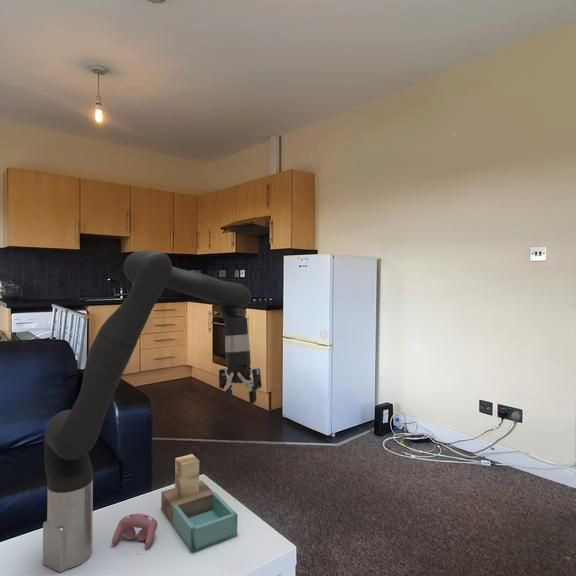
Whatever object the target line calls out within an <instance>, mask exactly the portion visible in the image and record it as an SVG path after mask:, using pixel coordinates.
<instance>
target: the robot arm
mask: <svg viewBox="0 0 576 576" xmlns="http://www.w3.org/2000/svg"><path fill="white" fill-rule="evenodd" d="M123 273H124V275H125V277H126V278H127V280H128V281H130V282H131V283H132V285H131V288H130V290H129V292H128V293H127V296H126V298H125V299H124V301H123V302H122V304H120V306H118V307H117V309H116V310H114V311H113V313H112V314H110V316H109V317H108V318H107V319H106V320H105V322H104V323H103V324H102V325H101V326H100V328H99V330H98V332H97V334H96V336H95V337H94V340H93V342H92V344H91V346H90V348H89V349H88V353H87V357H86V360H85V365H84V371H83V377H82V381H81V387H80V390H79V394H78V396H77V398H76V400H75V402H74V404H73V406H72V408H71V409H66V410H62V411H59V412H58V413H56V414H55V415H53V417H51V418H50V419H49V422H48V423H47V425H46V427H45V431H44V441H43V443H44V469H45V475H46V480H47V503H46V504H47V509H46V510H47V511H46V513H47V514H46V515H47V516H46V518H47V519H46V521H44V522H43V523H42V565H44V566H46V567H48V568H50V569H51V570H55V571H56V572H59V573H63V572H64V571H66V570H69V569H72V568H75V567H77V566H80V565H82V564H83V563H84V562H86V561H88V559H89V558H90V557H91V555H92V553H93V515H94V514H93V511H94V510H93V508H94V506H93V505H94V503H93V502H94V501H93V500H94V497H93V495H94V492H93V491H94V490H93V489H94V487H93V485H94V475H93V474H94V469H93V464H92V462H91V459H90V456H89V453H90V451H92V449H93V447H95V444H96V443H97V440H98V438H99V436H100V432H101V431H102V430H101V429H102V426H103V423H104V421H105V418H106V414H107V411H108V408H109V406H110V402H111V400H112V398H113V396H114V395H115V394H114V393H115V392H116V391H117V387H118V385H119V383H120V381H121V378H122V376H123V374H124V372H125V370H126V369H127V368H126V367H127V365H128V364H129V362H130V360H131V357H132V355H133V353H134V351H135V349H136V346H137V344H138V341H139V339H140V337H141V335H142V332H143V330H144V329H145V326H146V324H147V321H148V320H149V317H150V315H151V313H152V311H153V309H154V307H155V305H156V303H157V302H158V299H159V298H160V297H161V295H162V293H163V291H164V290H165V289H169V290H173V291H176V292H179V293H182V294H185V295H188V296H191V297H194V298H198V299H200V300H205V301H206V302H211V303H218V306H219V309H220V313H221V316H222V319H223V322H224V334H225V338H224V339H225V340H224V341H225V342H224V343H225V344H224V345H225V346H224V347H225V364H226V366H227V368H221V369H219V370H218V387H219V389H222V390H223V391H224V395H225V396H224V397H225V399H224V400H225V401H226V403H227V404H230V403H232V402H233V399H234V398H233V387H234V385H235V384H238V383H239V384H244V386H245V387H247V389H248V398H249V399H248V401H249V402H248V403H249V404H250V405H253V404H255V403H256V402H257V390H259V389H261V388H262V387H263V385H262V384H263V383H262V377H261V370H260V368H259V367H257V368H252V367H251V363H252V361H251V346H250V338H249V330H248V319H247V317H246V316H243V315H240V314H239V312H238V308H245V307H246V306H248V305H249V304H250V302H251V300H252V294H251V290H250V289H249V288H248V287H247V286H245V285H244V284H241V283H238V282H234V281H232V282H231V281H226V280H222V279H218V278H217V277H212V276H209V275H208V274H203V273H201V272H195V271H191V270H186V269H182V268H178V267H175V266H174V265H173V263H172V260H171V258H170V257H169V256H168V255H167V254H166V253H164V252H162V251H157V250H137V251H134V252H132V253H130V254H129V255H128V256H127V257H126V258H125V260H124V262H123Z"/></svg>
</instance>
